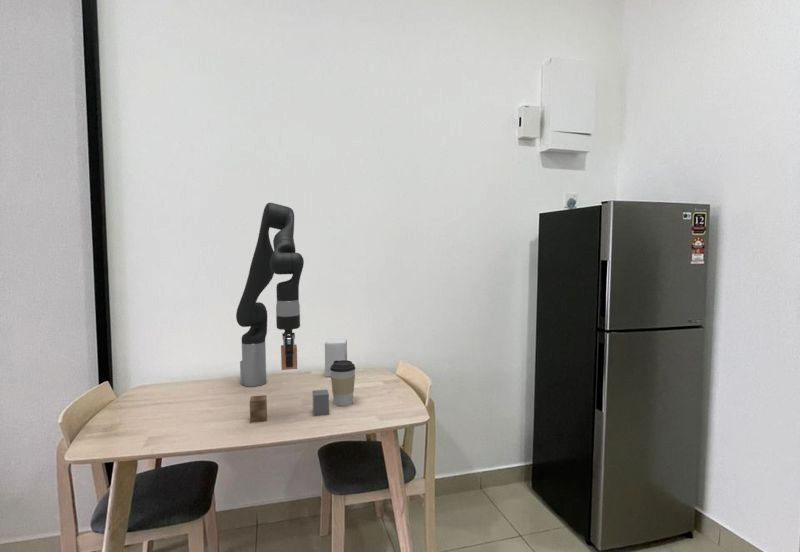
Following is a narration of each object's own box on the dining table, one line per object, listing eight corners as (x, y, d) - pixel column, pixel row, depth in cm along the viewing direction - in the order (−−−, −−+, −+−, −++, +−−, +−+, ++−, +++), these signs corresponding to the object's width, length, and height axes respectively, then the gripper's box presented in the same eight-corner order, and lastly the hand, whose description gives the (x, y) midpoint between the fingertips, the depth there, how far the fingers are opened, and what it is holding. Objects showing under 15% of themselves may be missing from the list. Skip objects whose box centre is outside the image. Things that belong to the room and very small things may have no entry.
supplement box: (345, 377, 186) (345, 342, 185) (324, 377, 186) (324, 343, 185) (347, 371, 195) (347, 338, 194) (327, 371, 195) (327, 338, 194)
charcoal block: (313, 416, 144) (313, 395, 143) (312, 410, 148) (312, 390, 148) (329, 414, 145) (328, 394, 144) (327, 409, 150) (327, 389, 149)
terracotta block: (281, 370, 140) (280, 348, 139) (281, 365, 145) (280, 345, 144) (297, 368, 141) (296, 347, 141) (296, 364, 146) (296, 344, 145)
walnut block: (250, 423, 138) (249, 401, 138) (251, 417, 143) (250, 396, 143) (266, 421, 140) (266, 400, 139) (267, 415, 144) (266, 394, 144)
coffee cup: (359, 399, 159) (359, 359, 158) (349, 408, 150) (348, 366, 149) (337, 396, 162) (337, 357, 161) (326, 405, 153) (325, 363, 152)
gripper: (300, 316, 136) (301, 369, 137) (298, 310, 149) (299, 358, 151) (276, 317, 134) (277, 371, 135) (276, 311, 147) (277, 360, 149)
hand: (289, 364), depth 143 cm, fingers closed on terracotta block, 5 cm apart
